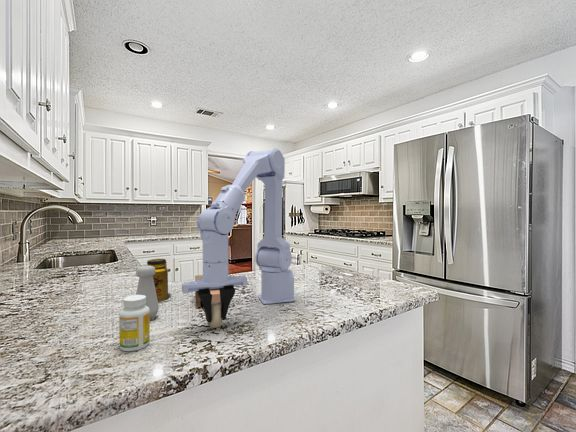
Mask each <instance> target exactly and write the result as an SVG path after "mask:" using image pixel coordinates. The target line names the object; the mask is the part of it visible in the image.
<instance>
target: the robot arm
mask: <svg viewBox="0 0 576 432" xmlns="http://www.w3.org/2000/svg"><path fill="white" fill-rule="evenodd" d="M285 160H286V159H285V157H284V155H283V153H282V151H281V150H280V149H279V148H277V147H274V148H271V149H265V150H256V151H249V152H247V153H246V155H245V157H243V161H242V162H243V165H242V167H241V169H240V170H239V172H238V174H237V175H236V177H235V179H234V180H233V182H232V183H231V184H227V185H225V186H222V187H221V188H220V192H219V194H218V196H217V197H216V198H215V199H214V201H212V202H211V204H210V206H209V208H206V209H203V210H202V211H201V213H200V214H199V215H198V218H197V220H196V222H195V223H196V228H197V230H198V231H199V232H200V239H201V241H202V275H203V279H202V280H197V281H195V280H192V281H188V282H182V283H181V292H182V294H184V295H185V294H189V293H194V292H195V291H196V292H197V294H198V296H199V298H200V303H201V305H202V308H203V312H204V311H205V312H204V314H205V315H204V316H205V320H206V322H207V324H210V322H211V321H212V315H211V302H212V294H211V293H210V291H209V289H217V288H219V291H220V302H221V318H222V321H225V320H226V319H227V315H228V311H229V307H230V304H231V302H232V299H233V298H234V296H235V294H236V288H235V287H239V286H242V287H244V286H248V277H247V276H245V275H241V276H240V275H239V276H229V233H231V231H232V230H233V229H234V226H235V218H236V213H237V211H238V210H239V209H240V207H242V204H243V203H244V201H245V199H246V196H245V192H246V190H248V187H250V186H251V184H252V182H253V181H254V180H255V179H257V180H259V181H261V183H263V185H264V209H263V210H264V211H263V212H264V214H263V215H264V222H263V223H264V224H263V228H264V229H263V238H262V239H261V240H260V241H259V242H257V245H256V246H257V249H256V252H255V256H254V258H255V259H254V260H255V264H256V266H258V269H259V271H261V276H260V277H261V278H260V279H261V282H260V284H261V286H260V287H261V294H258V295H257V298H258V299H259V301H261V303H262V304H263V305H270V304H271V305H272V304H280V303H289V302H295V301H296V299H295V277H294V275H295V274H294V272H293V269H290V267H291V264H292V261H293V259H292V252H291V245H290V243H289V242H288V241H287V240H286V239H284V238H283V235H282V234H283V180H284V179H285V173H286V171H285V165H286V163H285V162H286V161H285Z"/></svg>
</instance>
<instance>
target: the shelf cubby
mask: <svg viewBox="0 0 576 432" xmlns="http://www.w3.org/2000/svg"><path fill="white" fill-rule="evenodd" d="M194 277H195V278H194V281H197V280H202V279H203V274H199V275H195V276H194ZM209 290H219V288H217V289H209ZM194 292H195V293H194V295H195V296H194V297H195V309H198V308H197V307H200V308H201V300H200V298H199V296H198V294H197V292H196V291H194Z"/></svg>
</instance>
